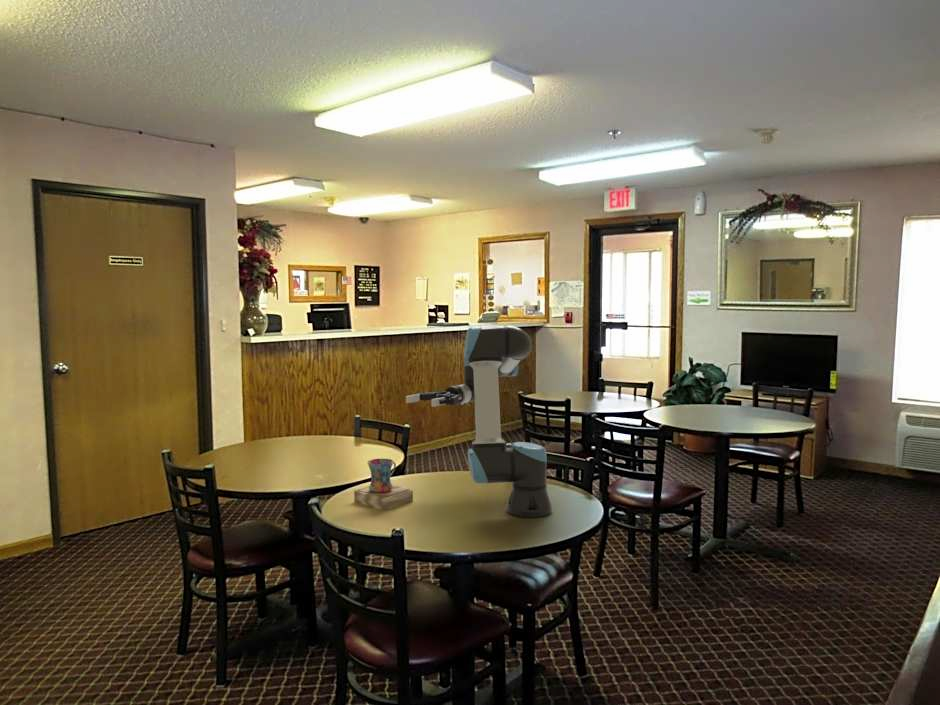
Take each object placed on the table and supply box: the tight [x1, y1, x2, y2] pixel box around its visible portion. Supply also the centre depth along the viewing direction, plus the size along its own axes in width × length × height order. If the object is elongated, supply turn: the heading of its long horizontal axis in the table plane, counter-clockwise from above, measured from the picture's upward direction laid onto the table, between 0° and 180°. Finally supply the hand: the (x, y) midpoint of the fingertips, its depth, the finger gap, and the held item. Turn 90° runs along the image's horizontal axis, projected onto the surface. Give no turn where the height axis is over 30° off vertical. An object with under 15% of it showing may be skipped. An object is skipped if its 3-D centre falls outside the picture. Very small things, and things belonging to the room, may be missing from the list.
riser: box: [353, 484, 414, 511], centre depth 234 cm, size 16×14×4 cm
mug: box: [367, 457, 397, 492], centre depth 233 cm, size 12×9×11 cm
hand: (419, 401), depth 241 cm, fingers open, 13 cm apart
